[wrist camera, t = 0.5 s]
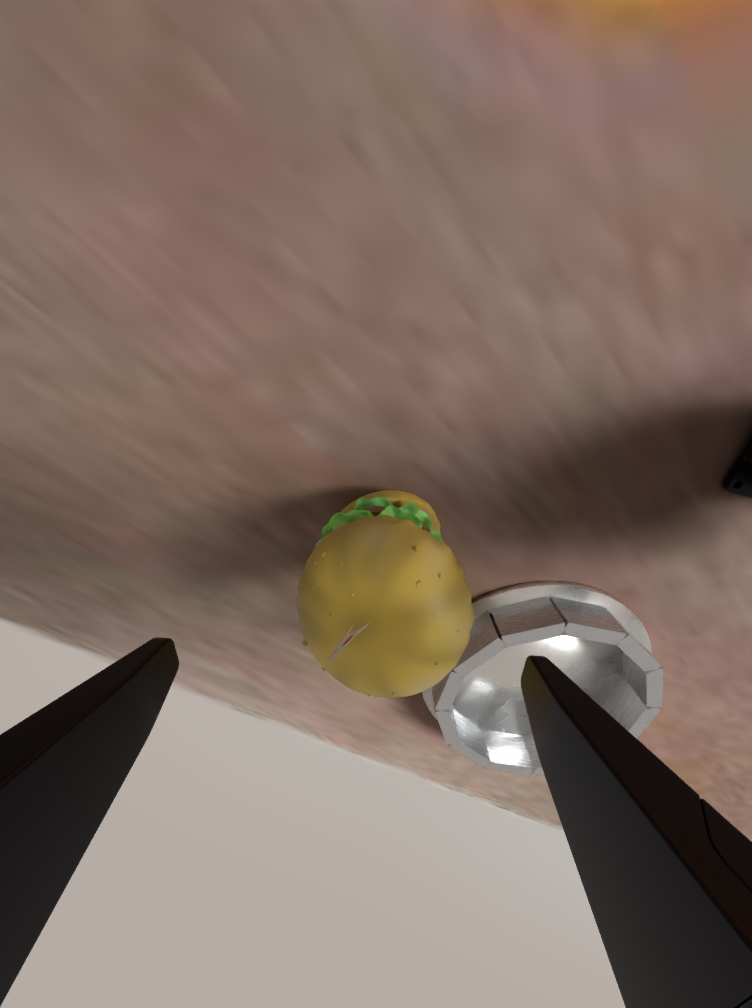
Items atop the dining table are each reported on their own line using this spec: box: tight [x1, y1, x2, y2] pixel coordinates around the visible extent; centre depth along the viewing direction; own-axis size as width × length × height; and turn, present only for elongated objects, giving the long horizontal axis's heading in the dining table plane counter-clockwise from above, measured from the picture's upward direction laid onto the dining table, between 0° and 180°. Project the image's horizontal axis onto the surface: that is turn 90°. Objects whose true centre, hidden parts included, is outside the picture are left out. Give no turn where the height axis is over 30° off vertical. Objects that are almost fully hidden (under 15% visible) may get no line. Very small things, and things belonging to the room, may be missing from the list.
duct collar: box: [422, 581, 663, 776], centre depth 25 cm, size 17×17×3 cm
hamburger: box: [297, 490, 474, 698], centre depth 16 cm, size 8×7×12 cm
